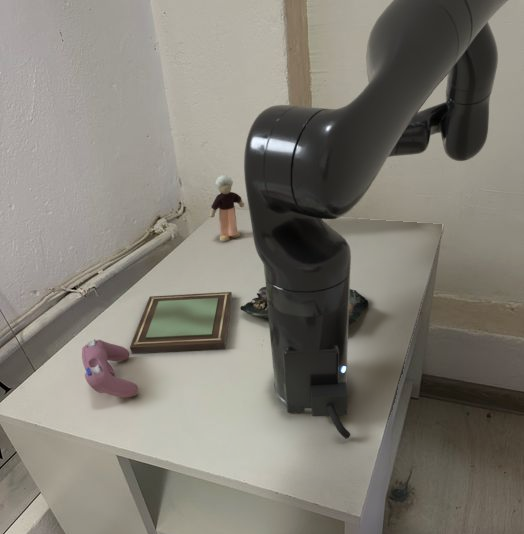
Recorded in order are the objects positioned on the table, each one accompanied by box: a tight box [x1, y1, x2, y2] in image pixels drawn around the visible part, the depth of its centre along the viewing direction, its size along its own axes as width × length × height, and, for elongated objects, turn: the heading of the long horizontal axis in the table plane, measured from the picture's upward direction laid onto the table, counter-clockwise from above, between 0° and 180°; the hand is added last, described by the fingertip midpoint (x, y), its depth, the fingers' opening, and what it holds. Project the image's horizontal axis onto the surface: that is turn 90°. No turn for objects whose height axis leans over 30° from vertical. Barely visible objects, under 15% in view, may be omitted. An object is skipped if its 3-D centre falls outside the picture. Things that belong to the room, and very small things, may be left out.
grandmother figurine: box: [209, 174, 245, 243], centre depth 97 cm, size 8×4×13 cm, turn 132°
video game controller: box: [81, 338, 140, 398], centre depth 65 cm, size 10×5×7 cm, turn 21°
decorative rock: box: [239, 286, 369, 325], centre depth 75 cm, size 19×6×15 cm
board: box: [129, 291, 233, 355], centre depth 76 cm, size 14×14×1 cm
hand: (280, 144), depth 89 cm, fingers open, 8 cm apart
